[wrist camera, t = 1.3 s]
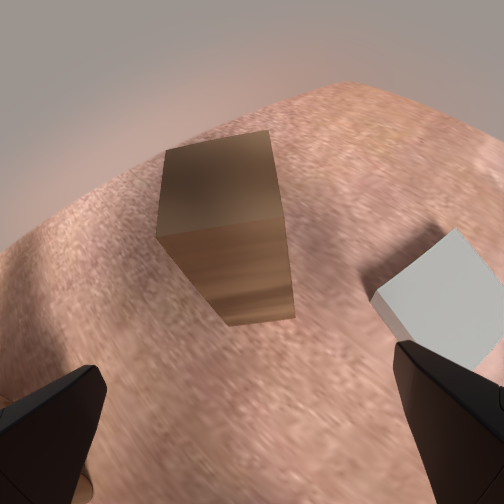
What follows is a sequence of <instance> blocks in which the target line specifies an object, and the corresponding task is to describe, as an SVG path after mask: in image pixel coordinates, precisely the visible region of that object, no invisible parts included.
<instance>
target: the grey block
mask: <svg viewBox="0 0 504 504" xmlns="http://www.w3.org/2000/svg"><path fill="white" fill-rule="evenodd" d="M370 304H371V305H372V306H373V308H374V309H375V310H376V312H377V313H378V314H379V316H380V317H381V318H382V320H383V321H384V322H385V324H386V325H387V327H388V328H389V329H390V331H391V332H392V333H393V335H394V336H395V337H396V339H397V340H398V342H399V341H404V340H412V341H414V342H416V343H418V344H420V345H422V346H424V347H426V348H427V349H429V350H431V351H433V352H435V353H437V354H439V355H441V356H443V357H445V358H447V359H449V360H451V361H453V362H455V363H457V364H459V365H461V366H463V367H465V368H467V369H469V370H471V371H473V370H474V369H475V368H476V367H477V366H478V365H479V364H480V363H481V362H482V361H483V359H484V358H485V357H486V356H487V355H488V354H489V353H490V352H491V350H492V349H493V348H494V347H495V346H496V345H497V343H498V342H499V341H500V340H501V339H502V337H503V336H504V286H503V285H502V283H501V282H500V281H499V279H498V278H497V277H496V275H495V274H494V273H493V272H492V270H491V269H490V268H489V266H488V265H487V264H486V263H485V261H484V260H483V259H482V258H481V256H480V255H479V254H478V253H477V252H476V250H475V249H474V248H473V247H472V246H471V245H470V243H469V242H468V241H467V240H466V239H465V238H464V236H463V235H462V234H461V233H460V232H459V231H458V230H457V229H456V227H455V228H454V229H453V230H452V231H451V232H450V233H448V234H447V235H446V236H445V237H444V238H442V239H441V240H440V241H439V242H438V243H436V244H435V245H434V246H433V247H432V248H430V249H429V250H428V251H427V252H425V253H424V254H423V255H422V256H420V257H419V258H418V259H417V260H415V261H414V262H413V263H412V264H410V265H409V266H408V267H406V268H405V269H404V270H403V271H401V272H400V273H399V274H397V275H396V276H395V277H393V278H392V279H391V280H389V281H388V282H387V283H385V284H384V285H383V286H381V287H380V288H379V289H377V290H376V292H375V294H374V296H373V298H372V299H371V301H370Z"/></svg>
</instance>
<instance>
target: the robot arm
mask: <svg viewBox="0 0 504 504" xmlns="http://www.w3.org/2000/svg"><path fill="white" fill-rule="evenodd" d="M393 371H394V376H395V379H396V383H397V386H398V390H399V394H400V397H401V401H402V405H403V409H404V413H405V416H406V419H407V422H408V424H409V427H410V429H411V432H412V434H413V437H414V440H415V442H416V445H417V448H418V450H419V453H420V456H421V459H422V461H423V464H424V467H425V470H426V473H427V476H428V479H429V481H430V484H431V487H432V490H433V493H434V497H435V500H436V503H437V504H504V387H502V386H499V385H498V384H496V383H494V382H492V381H490V380H488V379H486V378H484V377H482V376H480V375H478V374H476V373H474V372H472V371H471V370H469V369H467V368H465V367H463V366H461V365H459V364H457V363H455V362H453V361H451V360H449V359H447V358H445V357H443V356H441V355H439V354H437V353H435V352H433V351H431V350H429V349H427V348H426V347H424V346H422V345H420V344H418V343H416V342H414V341H412V340H404V341H399V342H397V343H396V345H395V352H394V361H393ZM106 393H107V386H106V383H105V381H104V379H103V377H102V375H101V373H100V370H99V368H98V367H97V366H95V365H84V366H82V367H80V368H78V369H76V370H74V371H72V372H71V373H69V374H67V375H65V376H63V377H61V378H59V379H57V380H56V381H54V382H52V383H50V384H48V385H46V386H44V387H42V388H40V389H39V390H37V391H35V392H33V393H31V394H29V395H27V396H25V397H23V398H21V399H19V400H18V401H16V402H14V403H12V404H10V405H8V406H6V407H5V408H2V409H0V504H71V503H72V500H73V497H74V493H75V490H76V487H77V484H78V481H79V478H80V475H81V472H82V469H83V466H84V463H85V460H86V458H87V455H88V452H89V449H90V446H91V444H92V441H93V438H94V435H95V433H96V430H97V426H98V423H99V419H100V415H101V411H102V408H103V404H104V400H105V397H106Z"/></svg>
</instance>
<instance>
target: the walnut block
mask: <svg viewBox="0 0 504 504" xmlns="http://www.w3.org/2000/svg"><path fill="white" fill-rule="evenodd" d="M156 238H157V240H158V241H159V242H160V244H161V245H162V246H163V247H164V249H165V250H166V251H167V253H168V254H169V255H170V256H171V258H172V259H173V260H174V261H175V263H176V264H177V265H178V266H179V268H180V269H181V270H182V271H183V273H184V274H185V275H186V276H187V278H188V279H189V280H190V281H191V282H192V284H193V285H194V286H195V287H196V289H197V290H198V291H199V292H200V293H201V295H202V296H203V297H204V298H205V299H206V301H207V302H208V303H209V304H210V305H211V307H212V308H213V309H214V310H215V311H216V312H217V314H218V315H219V316H220V317H221V318H222V319H223V321H224V322H225V323H226V324H227V325H228V326H237V325H246V324H254V323H262V322H270V321H278V320H285V319H292V318H295V308H294V299H293V289H292V280H291V271H290V262H289V254H288V245H287V237H286V229H285V221H284V214H283V208H282V202H281V196H280V191H279V185H278V179H277V174H276V168H275V163H274V157H273V152H272V147H271V141H270V136H269V131H268V130H266V131H259V132H253V133H247V134H242V135H236V136H231V137H225V138H220V139H215V140H210V141H205V142H201V143H196V144H191V145H187V146H183V147H178V148H174V149H170V150H166V154H165V161H164V168H163V175H162V183H161V191H160V200H159V209H158V218H157V229H156Z"/></svg>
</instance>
